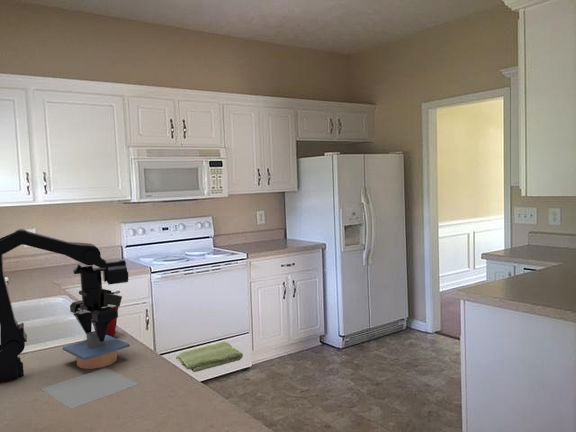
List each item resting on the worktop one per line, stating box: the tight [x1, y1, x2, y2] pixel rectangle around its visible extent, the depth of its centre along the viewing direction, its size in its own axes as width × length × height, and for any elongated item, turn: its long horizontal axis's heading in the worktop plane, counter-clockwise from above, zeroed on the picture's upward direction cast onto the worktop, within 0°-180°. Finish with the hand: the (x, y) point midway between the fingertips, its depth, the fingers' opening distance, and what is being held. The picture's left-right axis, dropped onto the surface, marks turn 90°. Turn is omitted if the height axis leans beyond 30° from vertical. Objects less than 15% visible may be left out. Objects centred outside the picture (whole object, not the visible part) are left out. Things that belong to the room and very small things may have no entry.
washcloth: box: [175, 341, 244, 373], centre depth 153 cm, size 13×18×3 cm
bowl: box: [75, 351, 118, 370], centre depth 152 cm, size 11×11×5 cm
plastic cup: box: [92, 304, 119, 338], centre depth 177 cm, size 11×11×12 cm
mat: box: [40, 367, 139, 410], centre depth 134 cm, size 18×18×1 cm
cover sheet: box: [62, 330, 131, 360], centre depth 152 cm, size 14×14×5 cm
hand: (95, 338), depth 152 cm, fingers open, 8 cm apart
